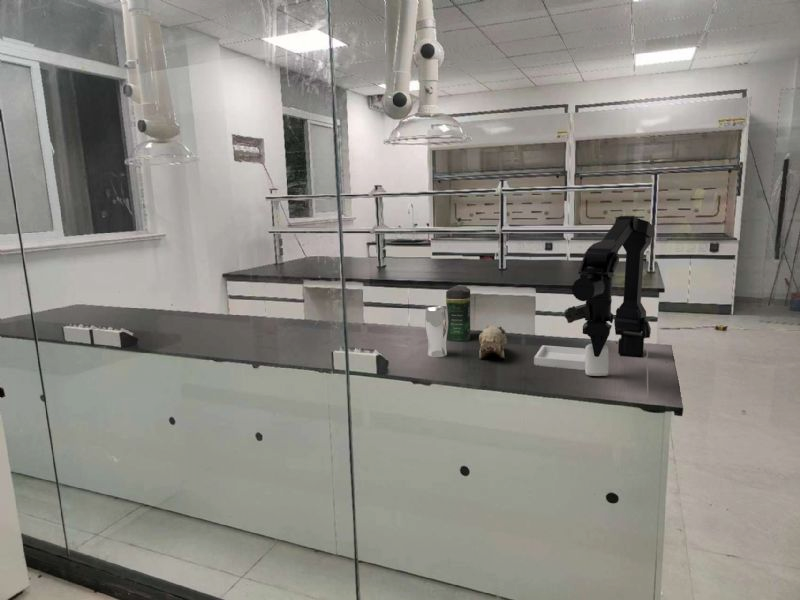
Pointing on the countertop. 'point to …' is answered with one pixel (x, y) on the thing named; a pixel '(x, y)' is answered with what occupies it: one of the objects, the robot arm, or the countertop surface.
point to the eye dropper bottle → (596, 362)
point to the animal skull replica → (492, 341)
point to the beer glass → (436, 330)
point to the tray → (561, 357)
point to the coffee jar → (458, 313)
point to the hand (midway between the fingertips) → (597, 354)
